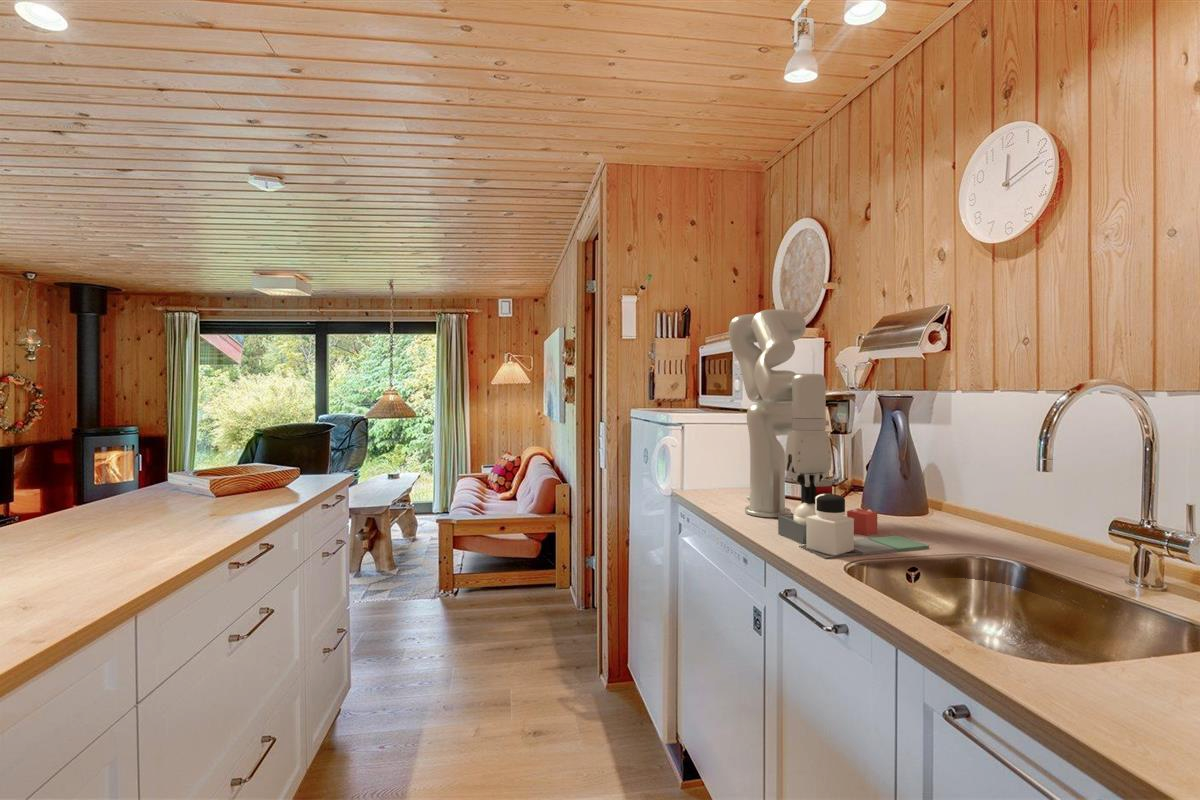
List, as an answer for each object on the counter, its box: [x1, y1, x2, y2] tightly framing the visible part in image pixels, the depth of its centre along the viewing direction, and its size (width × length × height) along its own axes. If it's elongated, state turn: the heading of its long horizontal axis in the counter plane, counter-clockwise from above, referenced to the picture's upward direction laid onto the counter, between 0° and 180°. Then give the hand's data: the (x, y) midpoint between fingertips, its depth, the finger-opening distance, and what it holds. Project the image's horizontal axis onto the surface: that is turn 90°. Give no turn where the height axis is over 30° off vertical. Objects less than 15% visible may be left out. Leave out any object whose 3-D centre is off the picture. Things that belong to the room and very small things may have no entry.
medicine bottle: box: [806, 493, 855, 556], centre depth 125 cm, size 7×7×12 cm
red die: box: [846, 507, 878, 536], centre depth 142 cm, size 5×5×6 cm
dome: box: [793, 503, 817, 524], centre depth 137 cm, size 7×7×6 cm
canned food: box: [800, 479, 833, 504], centre depth 151 cm, size 8×8×11 cm
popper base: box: [777, 514, 807, 545], centre depth 137 cm, size 10×10×4 cm
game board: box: [798, 534, 930, 560], centre depth 128 cm, size 9×27×1 cm, turn 105°
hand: (808, 502), depth 137 cm, fingers closed
